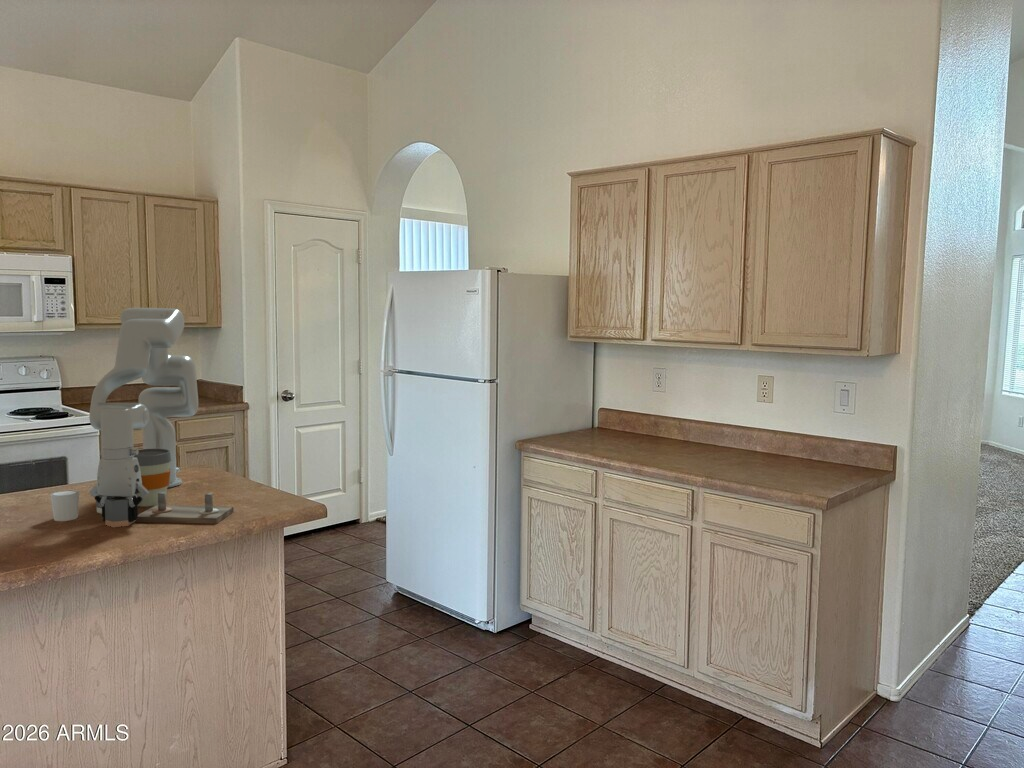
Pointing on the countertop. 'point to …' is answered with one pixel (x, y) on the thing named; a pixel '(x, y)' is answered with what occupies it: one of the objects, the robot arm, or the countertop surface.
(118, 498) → the terracotta-banded sleeve
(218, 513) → the pin board
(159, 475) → the reusable coffee cup
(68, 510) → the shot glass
